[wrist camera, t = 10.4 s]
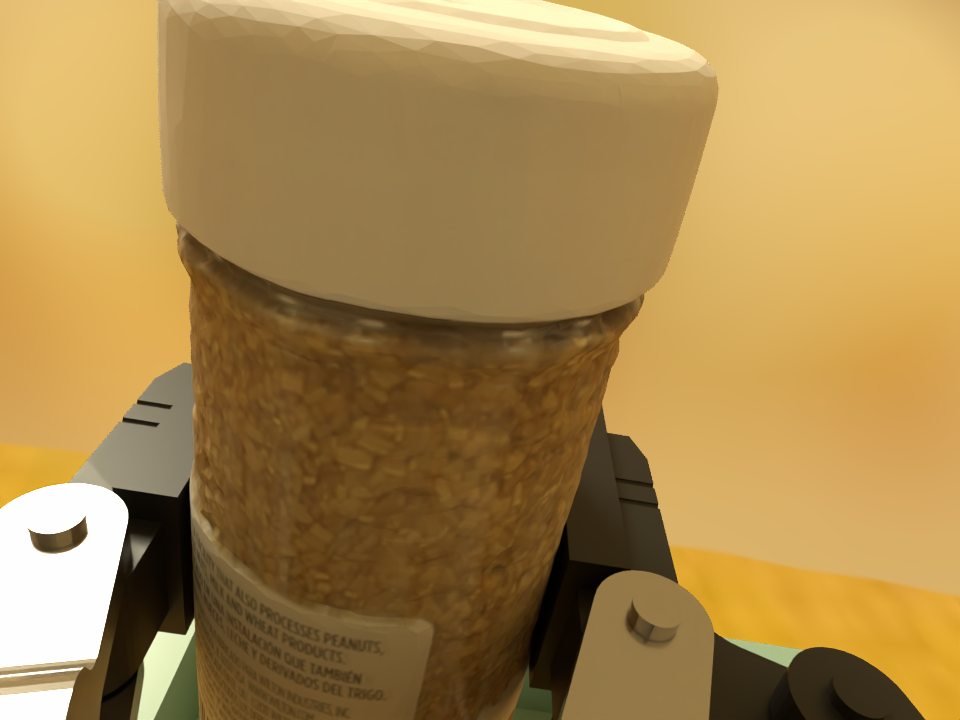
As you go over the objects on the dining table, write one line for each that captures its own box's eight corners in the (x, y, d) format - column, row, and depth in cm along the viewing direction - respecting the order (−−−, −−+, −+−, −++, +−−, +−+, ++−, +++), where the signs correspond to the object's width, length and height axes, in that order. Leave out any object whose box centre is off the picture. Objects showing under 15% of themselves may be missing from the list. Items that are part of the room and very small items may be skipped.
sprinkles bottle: (517, 886, 12) (849, 71, 6) (264, 1094, 10) (334, 17, 3) (382, 681, 15) (499, -19, 9) (159, 798, 13) (77, -87, 6)
